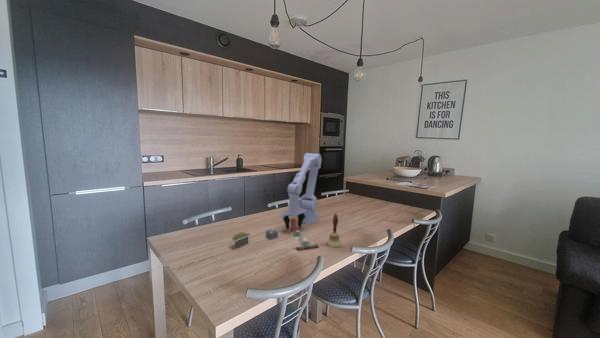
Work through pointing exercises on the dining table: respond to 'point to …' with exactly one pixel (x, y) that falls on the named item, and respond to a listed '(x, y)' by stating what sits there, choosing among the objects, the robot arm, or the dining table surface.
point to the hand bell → (334, 235)
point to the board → (305, 244)
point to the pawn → (293, 225)
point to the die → (272, 234)
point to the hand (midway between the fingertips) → (293, 227)
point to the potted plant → (240, 239)
